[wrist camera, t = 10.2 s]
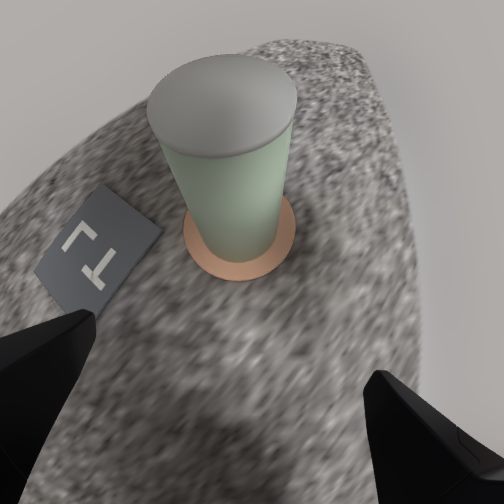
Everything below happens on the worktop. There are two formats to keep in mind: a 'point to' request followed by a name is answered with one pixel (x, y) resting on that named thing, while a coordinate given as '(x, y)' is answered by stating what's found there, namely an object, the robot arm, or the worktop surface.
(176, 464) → the worktop surface
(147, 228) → the tile
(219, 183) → the green tumbler
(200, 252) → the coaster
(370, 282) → the worktop surface
